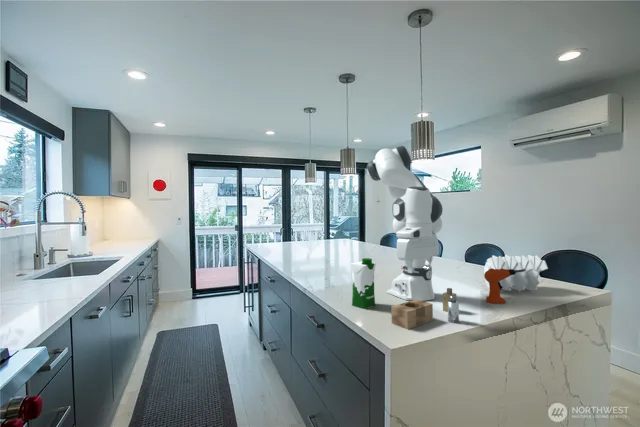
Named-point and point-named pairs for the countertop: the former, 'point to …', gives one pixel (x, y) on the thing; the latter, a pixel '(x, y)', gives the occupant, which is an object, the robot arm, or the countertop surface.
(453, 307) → the cylinder
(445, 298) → the square bit
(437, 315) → the countertop surface
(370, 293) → the milk carton
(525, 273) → the spiral staircase
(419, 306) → the socket block
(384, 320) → the countertop surface
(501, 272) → the toy drill
